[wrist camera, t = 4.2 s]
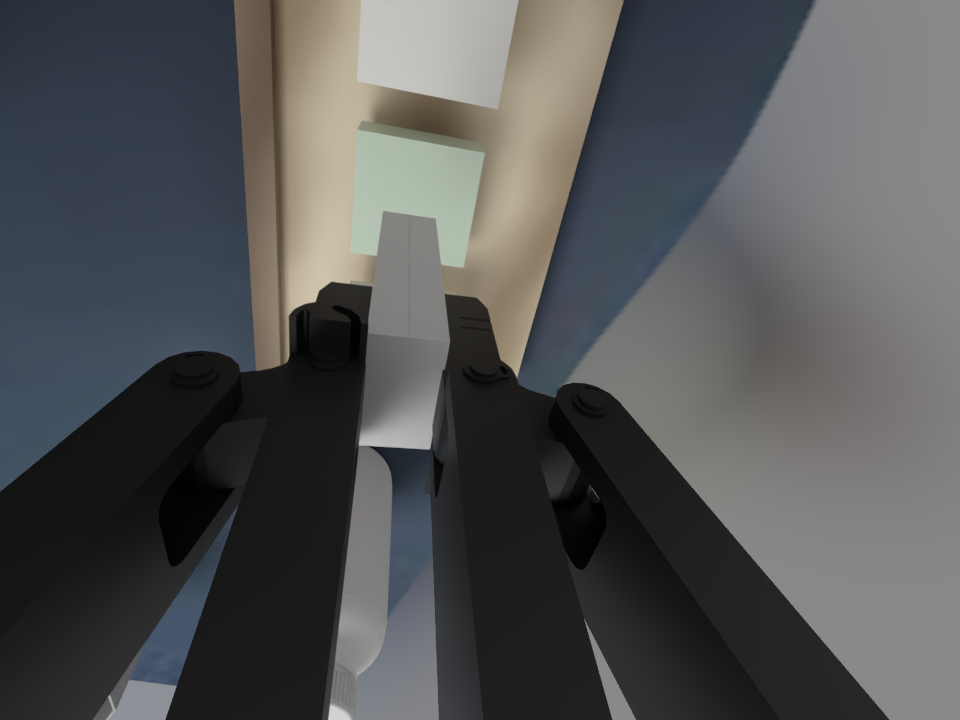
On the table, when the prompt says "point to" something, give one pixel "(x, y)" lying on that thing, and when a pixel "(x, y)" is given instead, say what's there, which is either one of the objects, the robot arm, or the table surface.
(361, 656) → the pill bottle
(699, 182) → the table surface
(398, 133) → the key sage
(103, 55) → the table surface
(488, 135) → the keypad board
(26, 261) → the table surface
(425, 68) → the white key
